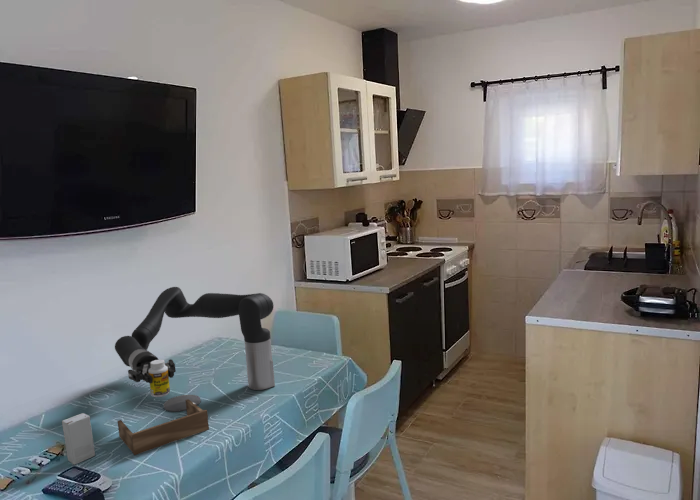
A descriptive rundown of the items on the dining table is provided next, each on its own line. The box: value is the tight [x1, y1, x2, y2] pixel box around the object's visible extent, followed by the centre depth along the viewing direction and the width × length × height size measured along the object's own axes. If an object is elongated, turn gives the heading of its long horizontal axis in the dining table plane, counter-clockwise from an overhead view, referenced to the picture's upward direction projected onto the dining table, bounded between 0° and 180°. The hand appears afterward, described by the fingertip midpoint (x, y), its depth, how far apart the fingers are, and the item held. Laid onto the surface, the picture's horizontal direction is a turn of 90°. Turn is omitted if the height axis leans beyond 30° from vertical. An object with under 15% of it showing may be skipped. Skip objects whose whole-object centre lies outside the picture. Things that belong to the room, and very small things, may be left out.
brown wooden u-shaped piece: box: [116, 399, 210, 456], centre depth 167 cm, size 15×22×6 cm
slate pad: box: [163, 394, 201, 413], centre depth 188 cm, size 12×12×1 cm
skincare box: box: [61, 412, 96, 465], centre depth 154 cm, size 6×4×12 cm
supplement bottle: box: [148, 359, 171, 398], centre depth 167 cm, size 6×6×10 cm
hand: (161, 377), depth 165 cm, fingers closed on supplement bottle, 5 cm apart
